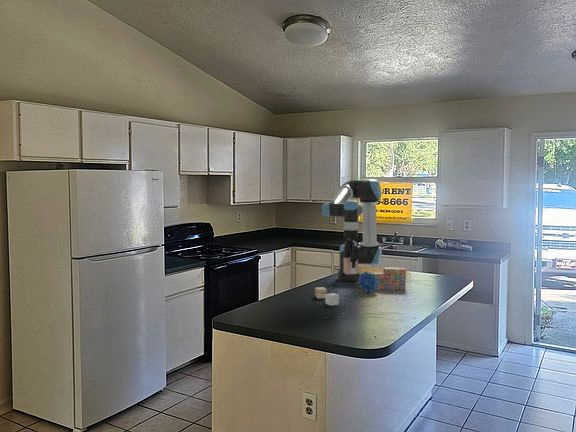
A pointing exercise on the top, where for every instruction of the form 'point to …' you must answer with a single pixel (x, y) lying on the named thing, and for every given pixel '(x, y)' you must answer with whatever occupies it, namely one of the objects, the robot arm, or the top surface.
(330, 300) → the off-white plastic block
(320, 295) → the maple block
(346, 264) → the terracotta block
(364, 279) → the grapes
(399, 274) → the stack of blocks
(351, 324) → the top surface
